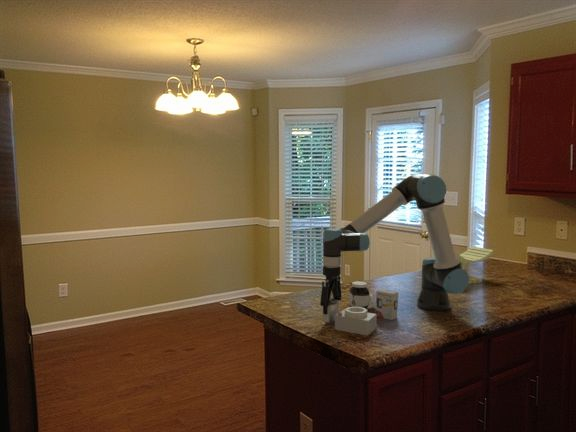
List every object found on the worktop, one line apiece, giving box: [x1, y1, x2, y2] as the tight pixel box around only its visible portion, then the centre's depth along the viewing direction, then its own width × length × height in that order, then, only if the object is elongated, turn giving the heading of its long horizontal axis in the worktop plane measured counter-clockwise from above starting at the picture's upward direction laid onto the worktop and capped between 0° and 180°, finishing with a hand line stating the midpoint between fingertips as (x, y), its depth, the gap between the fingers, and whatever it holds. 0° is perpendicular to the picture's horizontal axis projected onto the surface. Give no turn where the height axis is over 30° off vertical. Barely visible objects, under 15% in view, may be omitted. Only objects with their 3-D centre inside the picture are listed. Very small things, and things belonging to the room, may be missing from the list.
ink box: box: [374, 288, 399, 321], centre depth 214 cm, size 9×5×12 cm, turn 50°
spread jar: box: [348, 280, 376, 310], centre depth 229 cm, size 12×11×12 cm
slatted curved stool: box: [455, 246, 494, 285], centre depth 283 cm, size 30×16×18 cm, turn 122°
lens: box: [325, 297, 337, 325], centre depth 206 cm, size 5×5×10 cm
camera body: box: [334, 306, 378, 336], centre depth 199 cm, size 14×10×8 cm
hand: (330, 318), depth 207 cm, fingers open, 9 cm apart
